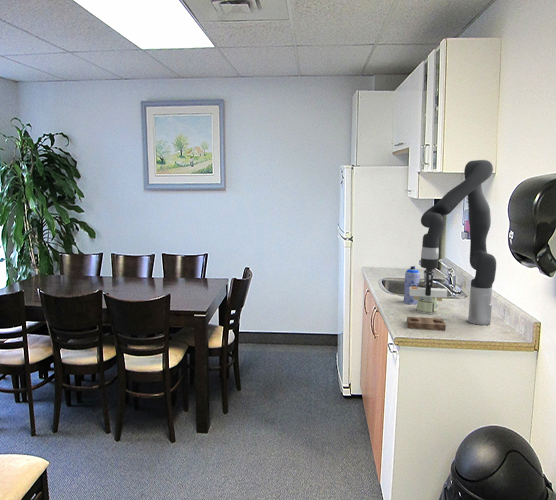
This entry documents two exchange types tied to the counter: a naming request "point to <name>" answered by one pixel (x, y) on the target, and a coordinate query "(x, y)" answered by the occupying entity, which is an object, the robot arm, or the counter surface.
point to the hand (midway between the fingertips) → (427, 294)
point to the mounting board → (426, 323)
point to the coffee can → (427, 301)
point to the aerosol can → (411, 284)
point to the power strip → (434, 293)
